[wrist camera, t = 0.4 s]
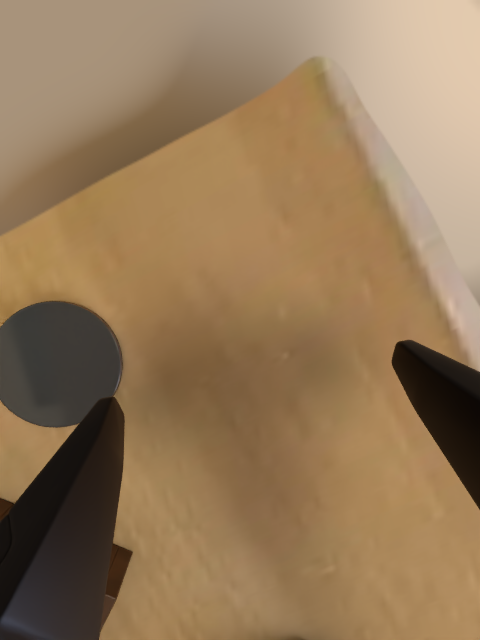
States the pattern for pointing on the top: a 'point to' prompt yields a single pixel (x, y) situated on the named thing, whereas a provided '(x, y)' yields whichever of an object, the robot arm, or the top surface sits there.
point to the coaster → (57, 363)
